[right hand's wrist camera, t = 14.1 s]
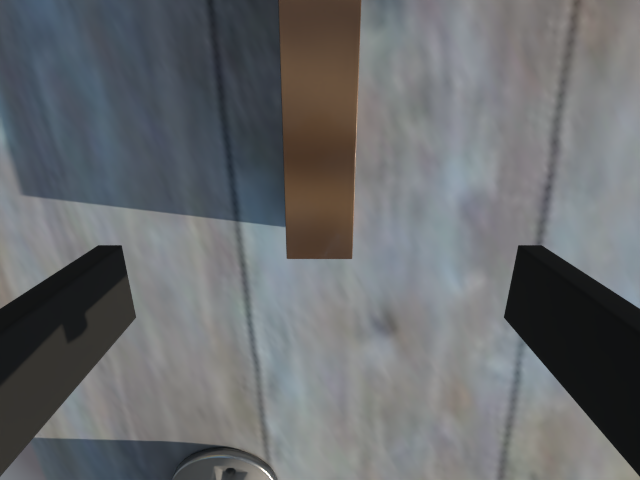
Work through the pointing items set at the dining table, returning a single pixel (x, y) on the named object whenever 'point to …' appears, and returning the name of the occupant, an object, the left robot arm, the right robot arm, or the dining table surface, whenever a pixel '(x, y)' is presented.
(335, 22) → the post
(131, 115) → the dining table surface
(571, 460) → the dining table surface
